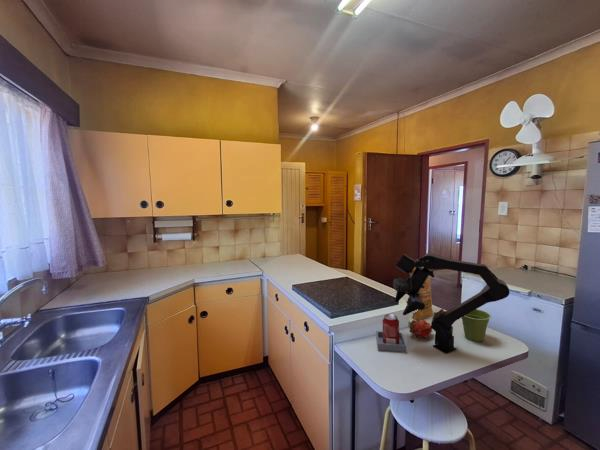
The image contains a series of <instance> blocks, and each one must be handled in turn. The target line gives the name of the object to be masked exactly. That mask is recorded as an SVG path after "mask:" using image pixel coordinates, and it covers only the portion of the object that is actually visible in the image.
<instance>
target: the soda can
mask: <svg viewBox="0 0 600 450" xmlns="http://www.w3.org/2000/svg"><path fill="white" fill-rule="evenodd" d="M382 332H383V343H384V344H399V333H400V320H399V319H398V316H397V315H396V314H392V313H388V314H384V315H383V319H382Z"/></svg>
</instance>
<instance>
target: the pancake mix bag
mask: <svg viewBox="0 0 600 450" xmlns="http://www.w3.org/2000/svg"><path fill="white" fill-rule="evenodd" d="M422 268H423V267H422ZM415 269H416V267H414V269H413V271H412V272H411V273H410V272H409V273H408V274H409V277H411V276H412V274H413V272H414V271H415ZM423 285H424V288H421V289H420V290H419V292H418V293H419V294H420V295H419V296H415V297H417V298H420V299H421V300H422V301H423V302H424V304H425V308H424V309H423V310H419V309H418V311H417V312H415V313H413V312H412V319H413V320H415V321H417V320H420V321H422V320H425V319H426V318H429V317H430V316H432V315H433V316H434V313H433V303H432V302H433V301H432V284H431V276H428V278H427V279H426V281H425V283H424V284H423Z"/></svg>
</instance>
